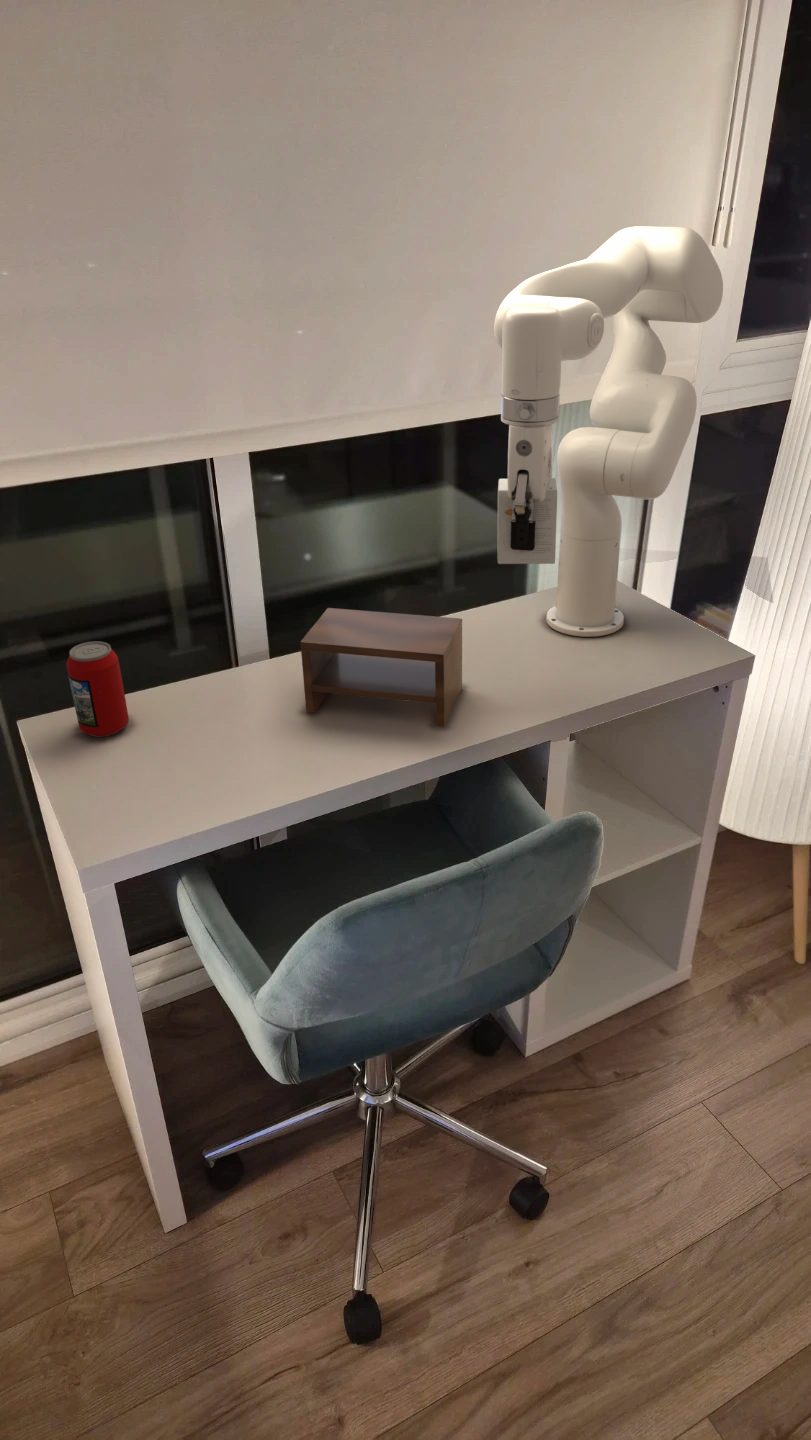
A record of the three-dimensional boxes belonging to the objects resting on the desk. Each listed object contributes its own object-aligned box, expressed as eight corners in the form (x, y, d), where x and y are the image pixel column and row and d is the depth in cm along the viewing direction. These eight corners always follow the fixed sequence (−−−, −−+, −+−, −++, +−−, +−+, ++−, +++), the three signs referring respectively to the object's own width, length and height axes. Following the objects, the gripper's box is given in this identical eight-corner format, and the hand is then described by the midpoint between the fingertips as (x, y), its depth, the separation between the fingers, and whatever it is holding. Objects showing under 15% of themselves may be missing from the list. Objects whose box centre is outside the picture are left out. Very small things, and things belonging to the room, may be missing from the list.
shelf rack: (332, 675, 157) (327, 607, 151) (462, 687, 152) (462, 618, 147) (306, 712, 146) (300, 641, 141) (444, 727, 142) (443, 654, 136)
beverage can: (76, 722, 146) (60, 644, 140) (125, 712, 148) (111, 635, 142) (83, 744, 140) (67, 664, 134) (134, 733, 142) (119, 654, 137)
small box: (553, 550, 147) (557, 477, 142) (555, 565, 142) (558, 489, 137) (497, 550, 148) (498, 477, 142) (496, 564, 143) (497, 489, 137)
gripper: (550, 425, 127) (545, 565, 135) (566, 394, 141) (560, 521, 150) (490, 424, 128) (488, 561, 137) (511, 393, 143) (508, 519, 152)
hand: (526, 539), depth 143 cm, fingers closed on small box, 6 cm apart
